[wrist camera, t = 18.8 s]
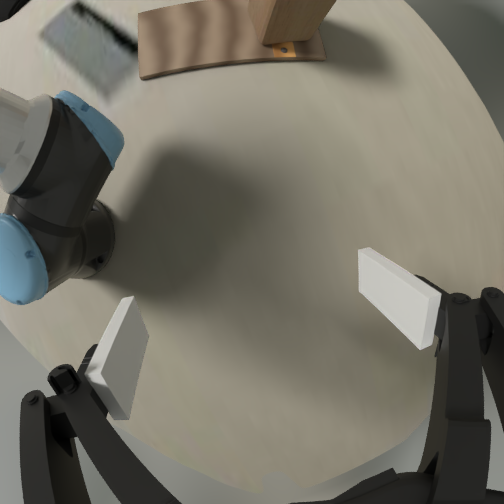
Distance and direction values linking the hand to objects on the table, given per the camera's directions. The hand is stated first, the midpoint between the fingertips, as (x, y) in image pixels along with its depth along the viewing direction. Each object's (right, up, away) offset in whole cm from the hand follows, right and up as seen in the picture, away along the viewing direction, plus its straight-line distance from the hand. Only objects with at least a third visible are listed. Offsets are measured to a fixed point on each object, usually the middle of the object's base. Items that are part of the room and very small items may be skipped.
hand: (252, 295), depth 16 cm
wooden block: (+5, +45, +25) cm, 52 cm away
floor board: (-4, +44, +26) cm, 51 cm away
